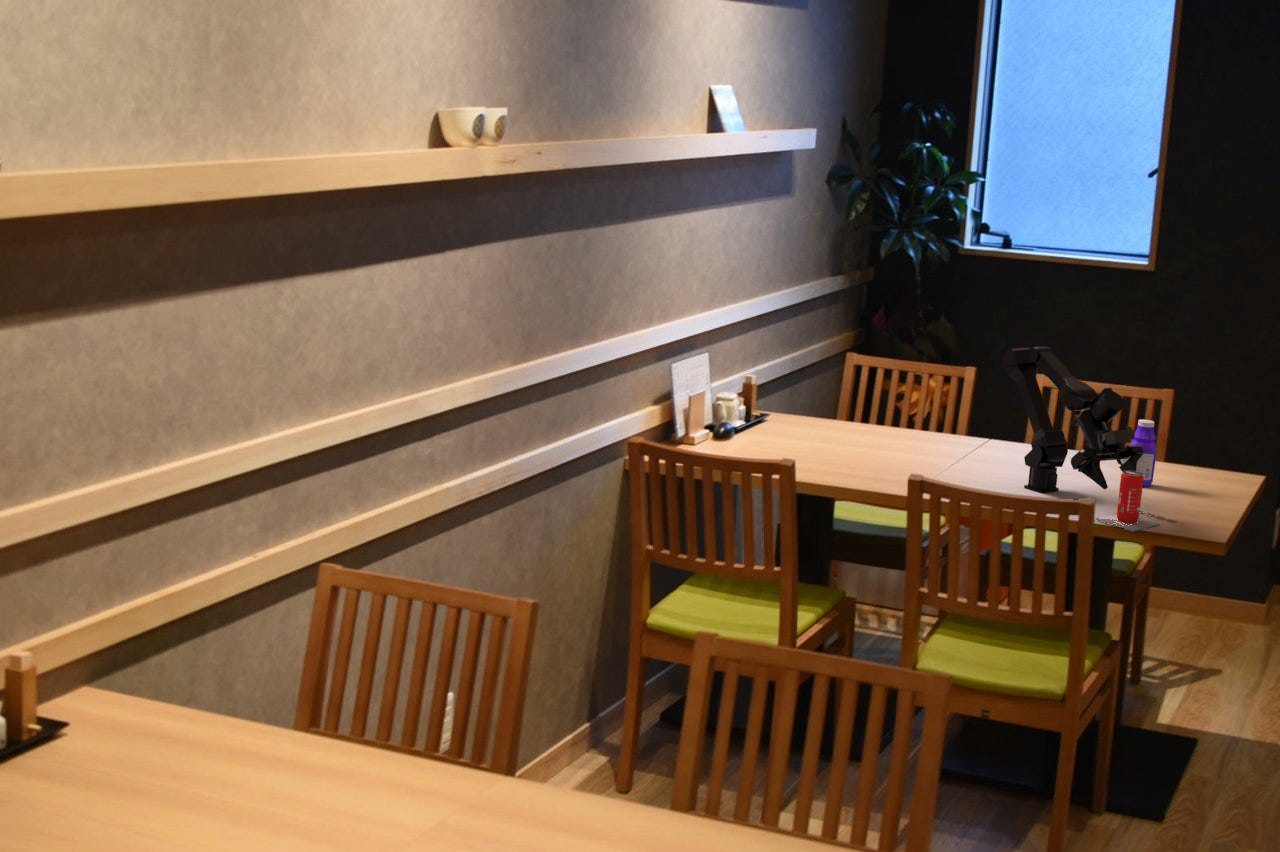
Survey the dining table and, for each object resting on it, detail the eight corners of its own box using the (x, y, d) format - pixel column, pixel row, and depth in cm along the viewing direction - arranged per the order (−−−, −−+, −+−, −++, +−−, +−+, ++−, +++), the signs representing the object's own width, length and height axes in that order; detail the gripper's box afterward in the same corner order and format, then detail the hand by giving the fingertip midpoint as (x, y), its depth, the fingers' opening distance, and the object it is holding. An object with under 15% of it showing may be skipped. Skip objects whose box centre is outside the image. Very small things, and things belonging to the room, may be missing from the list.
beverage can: (1129, 525, 366) (1135, 476, 363) (1111, 519, 369) (1117, 471, 367) (1142, 522, 369) (1148, 473, 366) (1124, 516, 373) (1129, 469, 370)
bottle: (1152, 483, 408) (1160, 420, 404) (1152, 488, 402) (1160, 424, 398) (1124, 480, 410) (1131, 417, 406) (1123, 485, 405) (1131, 421, 401)
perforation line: (1124, 508, 381) (1124, 507, 381) (1127, 508, 382) (1127, 506, 382) (1173, 522, 371) (1174, 521, 371) (1176, 522, 371) (1176, 520, 371)
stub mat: (1093, 520, 370) (1093, 518, 370) (1121, 514, 376) (1121, 512, 376) (1132, 531, 361) (1132, 530, 361) (1159, 525, 368) (1160, 523, 368)
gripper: (1084, 417, 367) (1109, 473, 360) (1144, 413, 375) (1170, 468, 368) (1058, 440, 376) (1083, 496, 369) (1118, 436, 383) (1143, 490, 376)
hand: (1121, 487), depth 370 cm, fingers open, 9 cm apart
